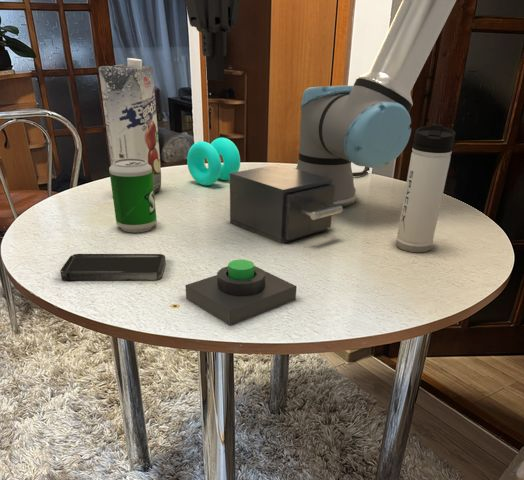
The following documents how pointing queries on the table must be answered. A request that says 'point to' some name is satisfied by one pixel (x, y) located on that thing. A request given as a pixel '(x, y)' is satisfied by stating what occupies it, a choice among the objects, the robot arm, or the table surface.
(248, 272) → the button
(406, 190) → the travel mug
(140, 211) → the soda can
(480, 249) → the table surface
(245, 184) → the cabinet
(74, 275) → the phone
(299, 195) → the drawer
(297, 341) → the table surface
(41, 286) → the table surface
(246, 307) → the panel
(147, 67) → the juice carton
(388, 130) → the robot arm
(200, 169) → the donuts
